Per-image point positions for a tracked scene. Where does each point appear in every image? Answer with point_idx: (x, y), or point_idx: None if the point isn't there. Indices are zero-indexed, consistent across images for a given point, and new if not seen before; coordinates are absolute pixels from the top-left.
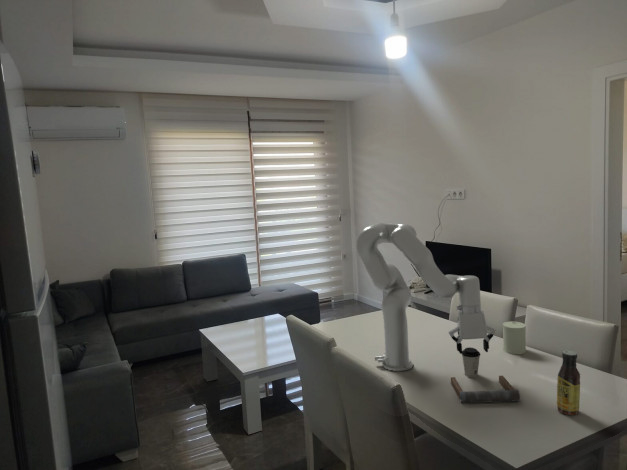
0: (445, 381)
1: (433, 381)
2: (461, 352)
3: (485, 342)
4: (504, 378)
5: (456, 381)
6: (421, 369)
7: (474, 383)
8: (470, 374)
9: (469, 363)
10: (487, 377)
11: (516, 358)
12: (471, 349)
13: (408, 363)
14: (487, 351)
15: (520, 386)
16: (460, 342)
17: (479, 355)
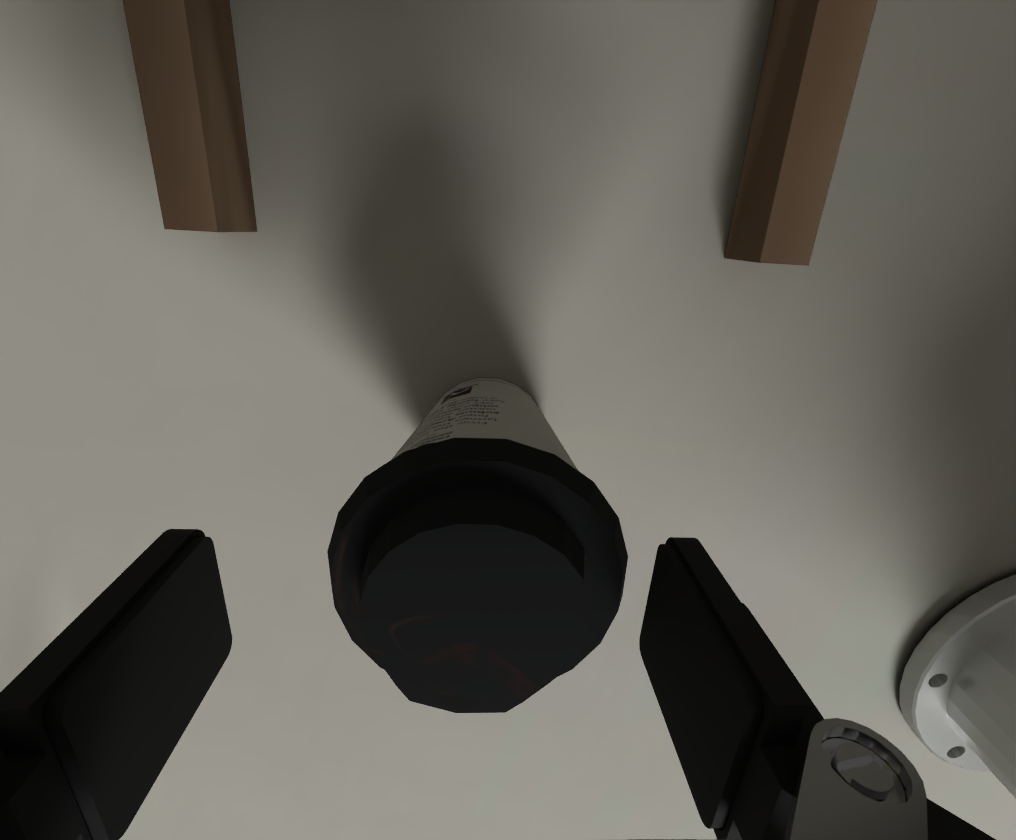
0: (792, 320)
1: (906, 334)
2: (684, 546)
3: (60, 710)
4: (158, 135)
5: (800, 125)
6: (876, 580)
7: (523, 235)
8: (513, 390)
9: (534, 428)
10: (347, 359)
11: (7, 684)
12: (454, 640)
13: (989, 654)
14: (175, 529)
15: (31, 85)
16: (771, 766)
17: (360, 488)
